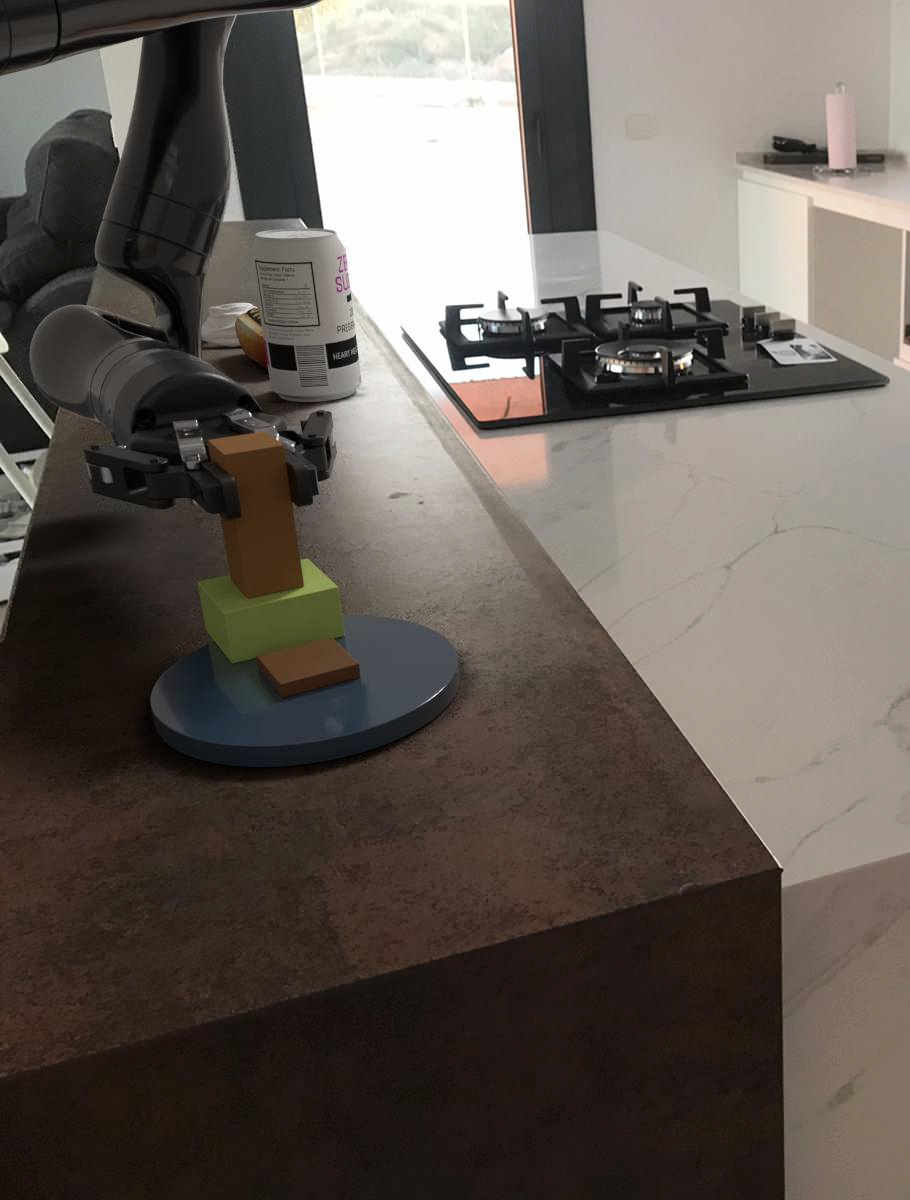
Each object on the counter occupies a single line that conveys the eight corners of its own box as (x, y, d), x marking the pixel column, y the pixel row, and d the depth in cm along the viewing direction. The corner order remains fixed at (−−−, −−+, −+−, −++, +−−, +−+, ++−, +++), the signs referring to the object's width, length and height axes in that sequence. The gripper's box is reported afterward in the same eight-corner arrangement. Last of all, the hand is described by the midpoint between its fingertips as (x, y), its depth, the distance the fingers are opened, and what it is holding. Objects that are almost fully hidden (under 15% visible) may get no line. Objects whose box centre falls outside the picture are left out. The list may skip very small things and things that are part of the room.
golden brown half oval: (258, 379, 128) (250, 329, 126) (232, 353, 138) (225, 307, 136) (309, 374, 131) (302, 325, 129) (281, 349, 141) (274, 303, 139)
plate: (199, 802, 57) (194, 779, 57) (123, 678, 68) (119, 658, 68) (507, 709, 66) (506, 688, 65) (396, 612, 77) (394, 594, 76)
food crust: (282, 698, 64) (279, 684, 64) (257, 669, 67) (255, 655, 66) (361, 677, 66) (359, 663, 66) (334, 649, 69) (332, 636, 69)
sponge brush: (232, 664, 67) (197, 464, 63) (205, 630, 71) (170, 439, 66) (345, 636, 71) (320, 444, 66) (314, 605, 74) (288, 422, 70)
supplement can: (260, 390, 124) (235, 231, 118) (343, 379, 129) (323, 225, 123) (290, 408, 118) (266, 241, 112) (376, 395, 123) (357, 234, 117)
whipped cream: (194, 357, 141) (182, 313, 138) (203, 339, 146) (191, 297, 144) (270, 349, 142) (260, 306, 140) (276, 331, 148) (266, 289, 145)
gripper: (35, 373, 72) (102, 445, 59) (289, 343, 80) (395, 401, 67) (64, 500, 75) (133, 594, 62) (306, 459, 83) (410, 535, 70)
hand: (269, 493), depth 65 cm, fingers closed on sponge brush, 3 cm apart
